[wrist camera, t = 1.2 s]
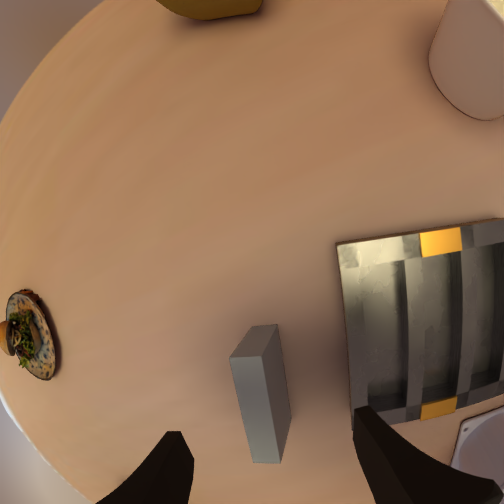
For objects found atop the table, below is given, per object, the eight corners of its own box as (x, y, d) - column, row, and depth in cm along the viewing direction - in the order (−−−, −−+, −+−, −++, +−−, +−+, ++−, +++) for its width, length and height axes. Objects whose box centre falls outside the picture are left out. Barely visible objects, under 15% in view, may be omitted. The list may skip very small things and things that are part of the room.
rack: (492, 377, 19) (508, 393, 15) (350, 409, 22) (351, 432, 19) (496, 217, 18) (518, 217, 15) (335, 242, 21) (337, 246, 18)
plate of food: (57, 391, 31) (19, 413, 24) (10, 333, 33) (-27, 346, 25) (74, 332, 29) (25, 353, 21) (22, 269, 30) (-24, 277, 23)
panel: (291, 418, 23) (280, 463, 17) (268, 418, 24) (253, 462, 18) (277, 324, 23) (261, 356, 17) (252, 326, 23) (229, 357, 17)
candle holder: (411, 21, 17) (441, -72, 6) (501, 48, 15) (557, -14, 4) (424, 116, 18) (492, 36, 7) (519, 141, 16) (607, 105, 5)
